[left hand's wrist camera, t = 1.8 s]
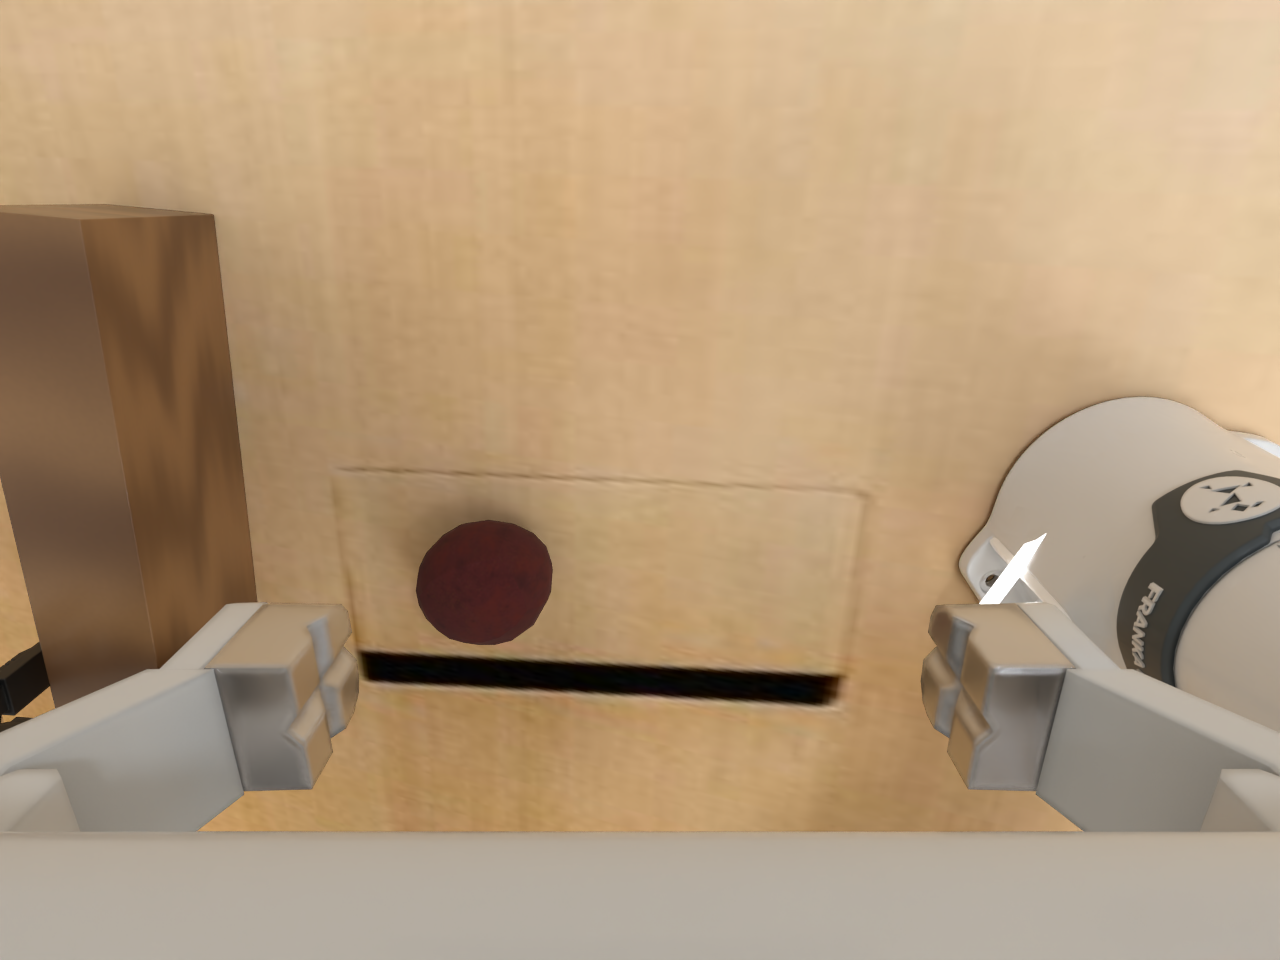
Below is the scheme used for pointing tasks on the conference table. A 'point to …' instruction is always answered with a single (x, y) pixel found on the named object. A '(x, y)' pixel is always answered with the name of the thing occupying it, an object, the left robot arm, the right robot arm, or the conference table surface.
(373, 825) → the conference table surface
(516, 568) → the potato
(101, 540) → the box
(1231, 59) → the conference table surface
